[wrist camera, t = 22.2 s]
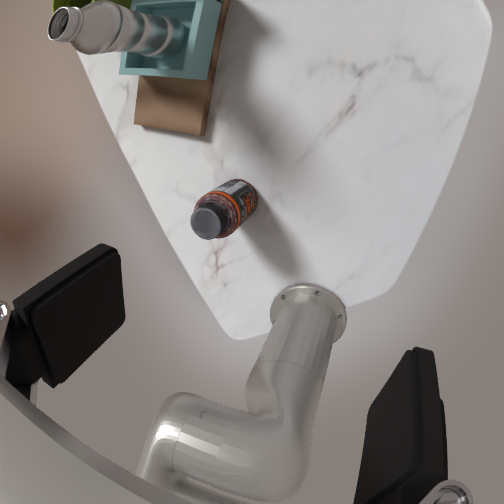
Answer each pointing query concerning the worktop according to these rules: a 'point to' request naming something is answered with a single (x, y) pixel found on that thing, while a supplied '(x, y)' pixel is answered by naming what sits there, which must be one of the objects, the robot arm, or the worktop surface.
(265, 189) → the worktop surface
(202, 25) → the teal open box
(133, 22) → the plastic bottle
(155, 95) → the rail base
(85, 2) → the plant pot
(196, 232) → the supplement bottle
